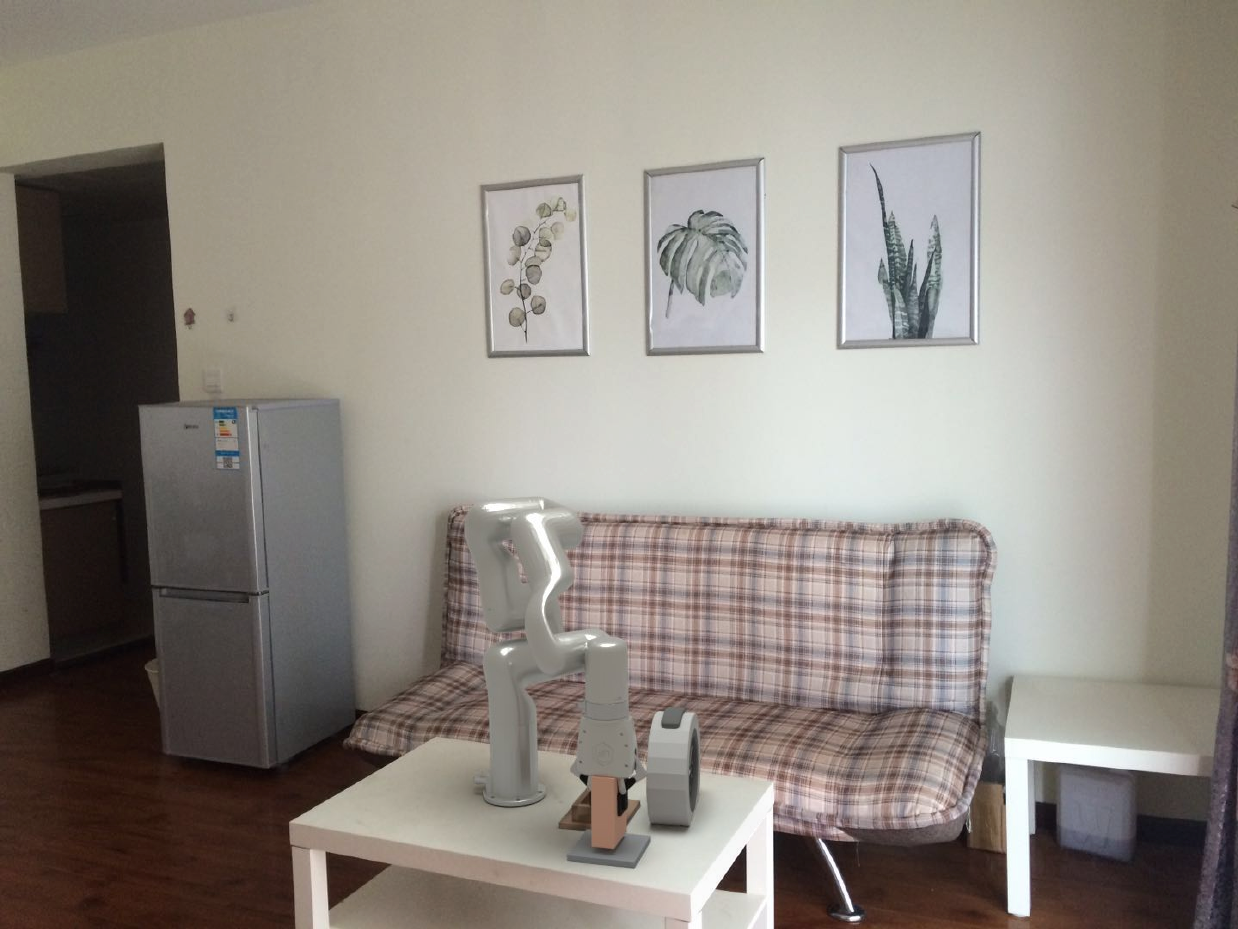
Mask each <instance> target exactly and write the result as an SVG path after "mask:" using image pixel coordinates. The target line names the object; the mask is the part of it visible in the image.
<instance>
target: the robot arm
mask: <svg viewBox="0 0 1238 929" xmlns="http://www.w3.org/2000/svg"><path fill="white" fill-rule="evenodd" d="M583 538H584V529H583V524H582V521H581V519H580V518H579V516H578V514H577V513H576V512H575V511H574V510H573V509H572V508H570V507H568V506H566V505H563V504H561V503H559V502H557V501H554V500H551V499H549V498H547V497H542V496H525V497H524V496H523V497H508V498H507V497H504V498H494V499H493V498H492V499H487V500H483V501H480V502H477V503H475V504H474V505H472V506H471V507H469V509H468V511H467V513H466V514H465V519H464V539H465V541H466V545H467V547H468V551H469V554H470V555H471V558H472V560H473V563H474V567H475V571H476V575H477V576H476V577H477V584H478V590H479V596H480V602H481V603H480V604H481V609H482V615H483V620H484V623H485V626H486V627H487V629H488V630H489V632H490V633H493V634H510V633H517V632H522V631H524V633H525V634H524V635H525V637H516V638H512V639H506V640H501V641H498V642H496V643H493V644H492V645H491V646H489V647H488V648H487V649H486V651H485V652H484V654H483V657H482V668H483V675H484V679H485V683H486V689H487V698H488V700H487V701H488V718H489V754H490V755H489V760H490V761H489V762H490V763H489V764H490V770H489V771H484V770H474V771H473V774H472V779H473V784H475V785H484V786H485V787H484V789H483V792H482V793H483V799H484V800H485V801H486V802H487V803H489V804H491V805H495V806H499V807H522V806H527V805H532V804H535V803H537V802H539V801H541V800H542V799H543V798H545V796H546V795H547V788H546V786H545V784H543V783H542V782H540V781H539V765H538V764H539V763H538V761H539V760H538V757H539V756H538V720H537V719H538V715H537V714H538V713H537V706H536V704H535V701H534V700H533V698H532V697H531V696H530V694H529V693H528V692H527V690H526V688H527V686H531V685H535V684H540V683H541V684H542V683H545V682H549V681H554V680H558V679H560V678H561V677H567V676H570V675H575V674H576V675H577V674H580V673H582V674H583V673H584V683H585V684H584V687H585V688H584V691H585V694H584V695H585V696H584V699H582V700H578V702H577V707H578V709H581V710H583V712H584V714H583V715H582V716H581V717H580V719H579V720H580V721H579V727H578V735H577V745H576V746H577V750H576V758H575V760H574V761H573V763H572V765H571V767H570V768H569V771H570V773H571V774H573V775H574V776H575V777H577V778H579V780H580V781H581V782H582V783H583V784H584V785H585V787H586V788H587V790H588V791H589V803H590V807H591V777H592V776H603V777H615V778H617V781H618V786H619V793H618V794H617V815H618V816H620V817H621V816H622V814H623V813H624V812H625V810H627V808H628V799H629V790H630V789H631V788H632V787H633V786H634V785H635V784H637V783H639V782H641V781H643V780H645V778H646V776H647V772H646V769H645V767H644V766H643V764H642V762H641V761H640V759H639V755H638V754H639V753H638V752H639V751H638V742H637V735H636V734H637V733H636V729H635V723H634V719H633V716H632V715H631V714H630V712H629V711H630V709H629V708H630V707H629V705H630V704H629V700H630V699H629V652H628V651H629V650H628V649H629V648H628V643H627V642H626V641H625V640H624V639H623V638H620V637H617V636H611V635H609V634H608V633H607V632H606V631H605V630H602V629H600V628H594V627H593V628H585V629H579V630H571V631H566V632H565V630H564V624H563V618H562V611H561V606H560V601H559V598H558V597H559V596H561V595H563V594H564V593H565V592H566V591H568V589H569V588H570V587H571V586H573V584H574V581H575V577H576V576H575V575H576V574H575V572H574V569H573V568H572V565H571V563H570V561H569V559H568V556H567V554H566V551H572V550H575V549H577V548H578V547H579V546H580V545H581V543H582V541H583ZM503 541H511V542H512V544H513V546H514V549H515V552H516V554H517V557H518V560H519V561H520V564H521V567H522V569H523V571H524V574H525V576H526V579H527V582H526V583H523V582H522V579H521V576H520V568H519V564H518V561H517V559H516V558H515V555H514V554H513V553H512V552H511V551H510V549H509V548H508V547H507V546H506V545H505V544H504V543H502V542H503ZM634 772H635V774H634Z"/></svg>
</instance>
